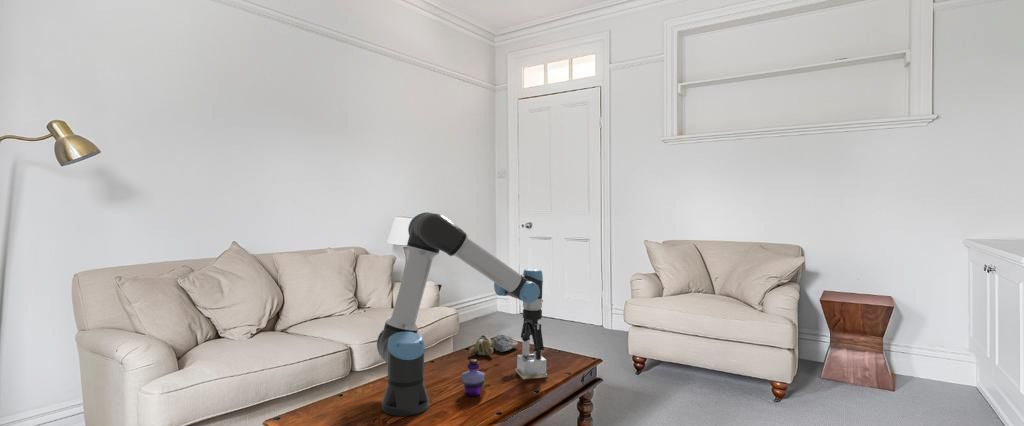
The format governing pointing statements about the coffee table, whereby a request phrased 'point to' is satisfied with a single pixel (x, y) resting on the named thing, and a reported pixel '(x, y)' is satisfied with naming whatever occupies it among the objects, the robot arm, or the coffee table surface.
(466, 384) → the potion bottle
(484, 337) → the ceramic sculpture
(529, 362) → the grey hollow square block
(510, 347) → the rock
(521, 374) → the cream square tile
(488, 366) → the coffee table surface
